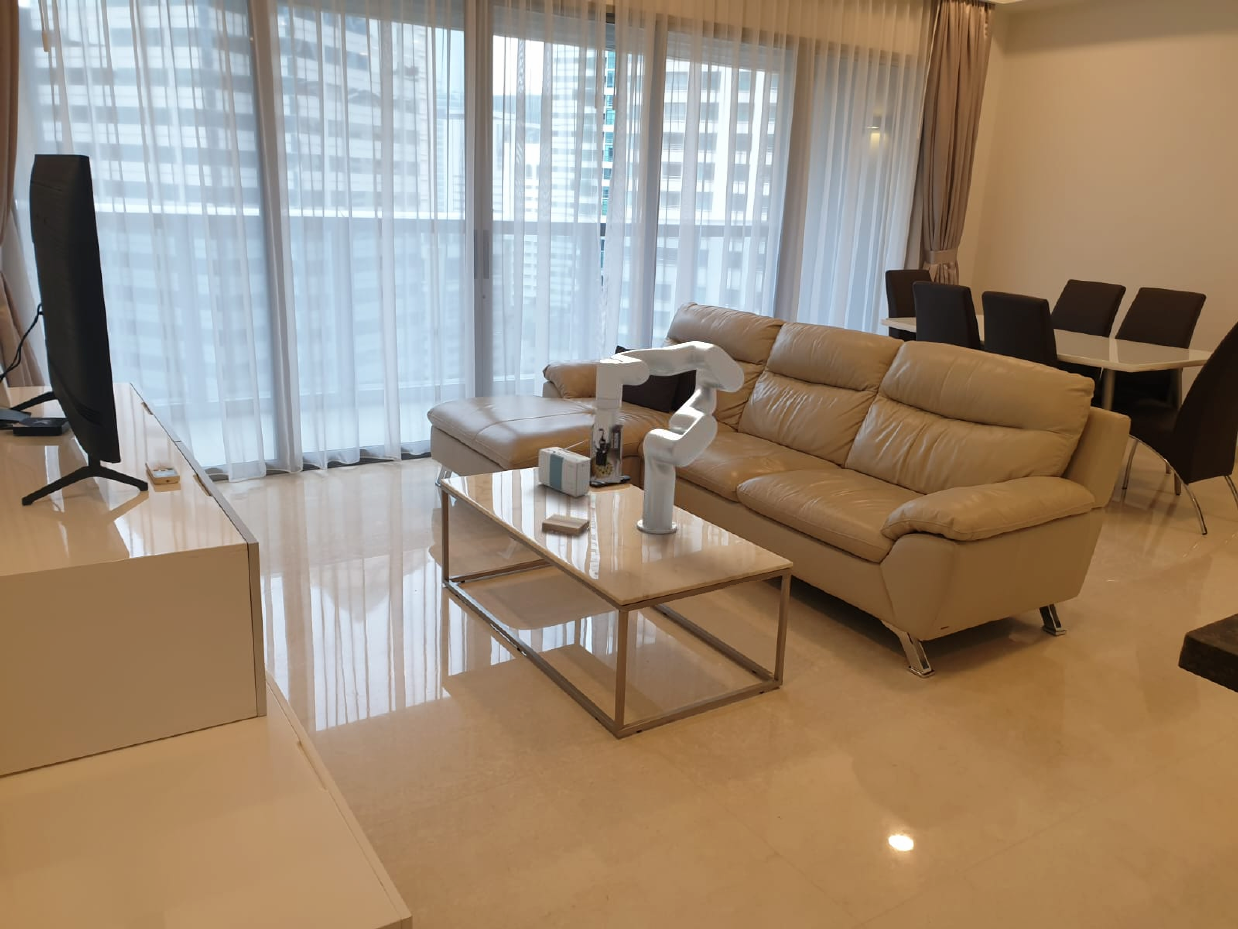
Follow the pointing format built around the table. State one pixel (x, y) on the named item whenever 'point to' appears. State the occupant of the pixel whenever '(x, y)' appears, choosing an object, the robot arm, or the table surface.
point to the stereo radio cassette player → (564, 470)
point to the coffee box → (608, 458)
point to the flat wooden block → (565, 525)
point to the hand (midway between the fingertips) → (606, 461)
